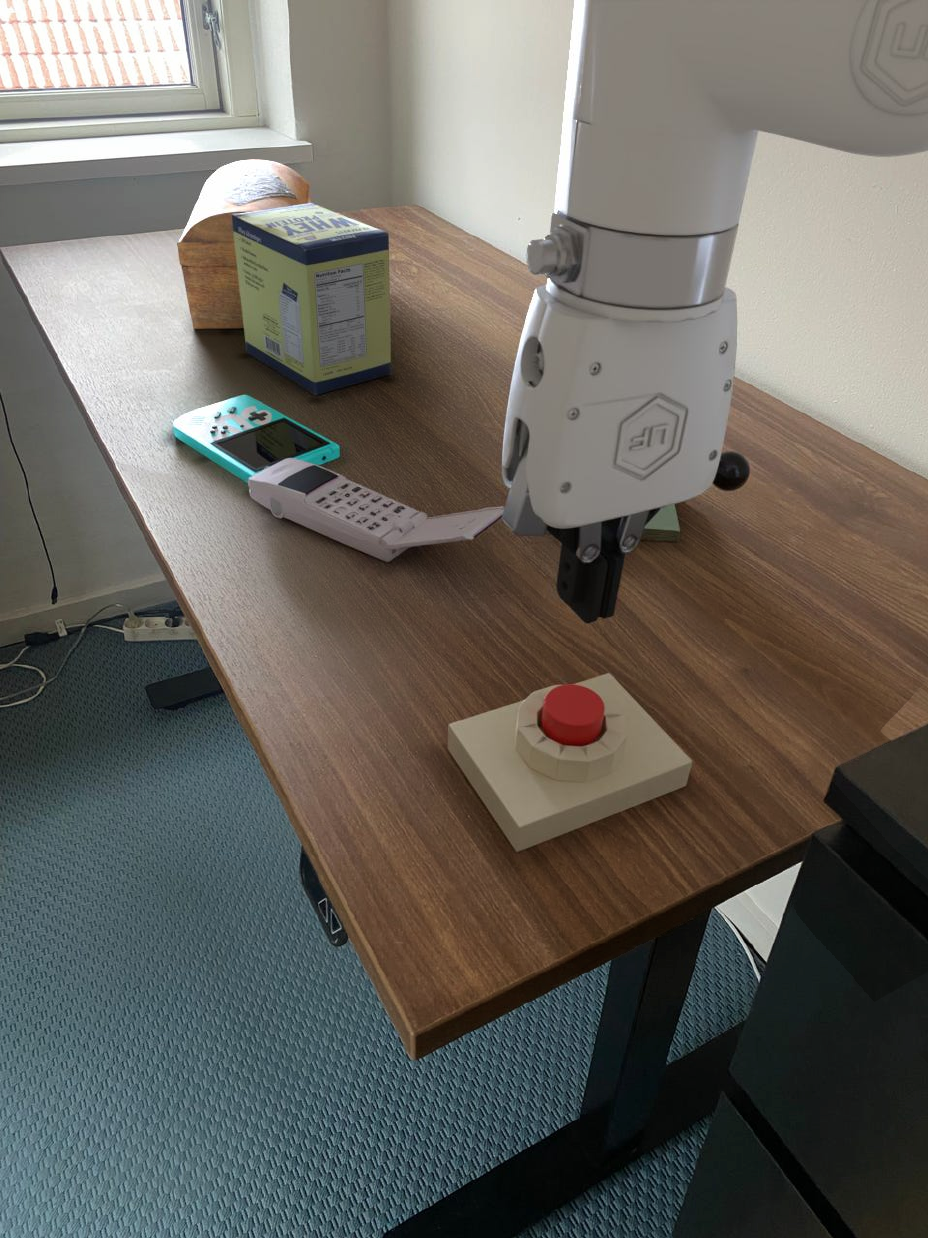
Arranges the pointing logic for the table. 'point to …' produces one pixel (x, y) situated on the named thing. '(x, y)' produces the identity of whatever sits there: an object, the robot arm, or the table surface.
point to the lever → (731, 471)
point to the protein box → (314, 295)
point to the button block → (565, 765)
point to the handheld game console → (250, 436)
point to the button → (572, 715)
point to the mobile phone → (358, 511)
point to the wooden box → (229, 235)
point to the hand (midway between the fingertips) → (584, 605)
